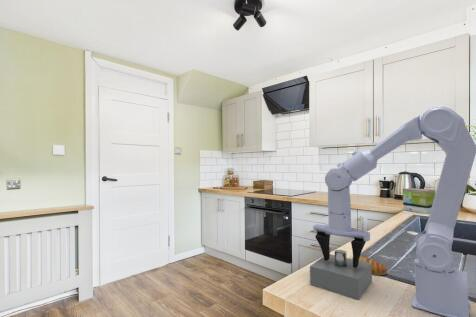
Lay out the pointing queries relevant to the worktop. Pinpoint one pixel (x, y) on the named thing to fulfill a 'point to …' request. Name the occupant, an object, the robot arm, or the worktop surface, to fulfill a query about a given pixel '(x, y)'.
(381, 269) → the pastry
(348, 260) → the cover
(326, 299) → the worktop surface
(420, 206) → the tea box
